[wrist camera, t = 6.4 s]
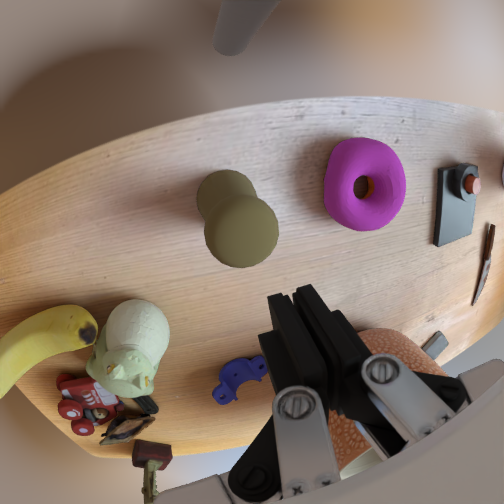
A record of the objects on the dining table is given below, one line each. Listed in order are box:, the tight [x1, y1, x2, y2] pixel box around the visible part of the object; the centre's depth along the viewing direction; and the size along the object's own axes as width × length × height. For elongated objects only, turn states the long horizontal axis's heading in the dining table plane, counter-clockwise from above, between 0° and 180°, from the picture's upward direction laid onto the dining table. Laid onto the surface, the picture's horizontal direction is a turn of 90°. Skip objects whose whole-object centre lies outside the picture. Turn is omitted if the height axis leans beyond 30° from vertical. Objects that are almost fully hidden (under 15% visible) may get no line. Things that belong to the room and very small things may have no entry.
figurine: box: [86, 299, 170, 398], centre depth 28 cm, size 10×16×10 cm, turn 148°
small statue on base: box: [132, 440, 173, 504], centre depth 40 cm, size 10×8×15 cm
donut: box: [323, 138, 406, 231], centre depth 27 cm, size 10×10×5 cm
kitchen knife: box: [472, 224, 495, 306], centre depth 43 cm, size 21×2×5 cm
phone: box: [422, 331, 449, 360], centre depth 50 cm, size 8×16×1 cm, turn 139°
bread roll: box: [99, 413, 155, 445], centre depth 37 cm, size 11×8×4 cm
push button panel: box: [433, 163, 479, 247], centre depth 33 cm, size 13×10×3 cm
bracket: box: [212, 356, 268, 405], centre depth 37 cm, size 9×5×3 cm, turn 109°
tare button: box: [465, 175, 481, 195], centre depth 29 cm, size 3×3×2 cm
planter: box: [328, 328, 449, 480], centre depth 34 cm, size 21×21×19 cm
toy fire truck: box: [56, 374, 124, 436], centre depth 33 cm, size 7×12×10 cm
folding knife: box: [132, 395, 159, 414], centre depth 37 cm, size 10×1×3 cm
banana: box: [0, 305, 98, 399], centre depth 22 cm, size 26×6×13 cm
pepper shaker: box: [197, 170, 279, 268], centre depth 23 cm, size 6×6×11 cm
